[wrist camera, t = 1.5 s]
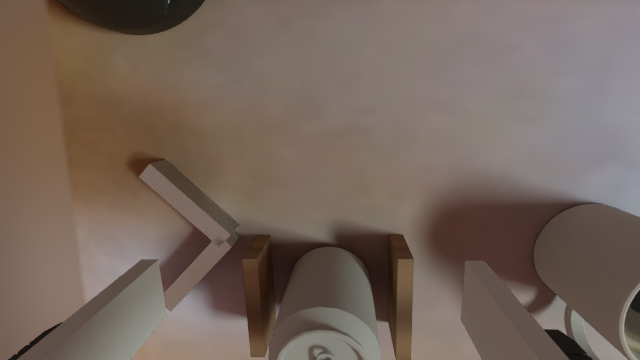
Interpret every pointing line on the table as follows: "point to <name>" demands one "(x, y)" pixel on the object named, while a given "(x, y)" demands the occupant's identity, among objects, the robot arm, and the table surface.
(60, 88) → the table surface
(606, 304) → the mug
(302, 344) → the can
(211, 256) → the v block
